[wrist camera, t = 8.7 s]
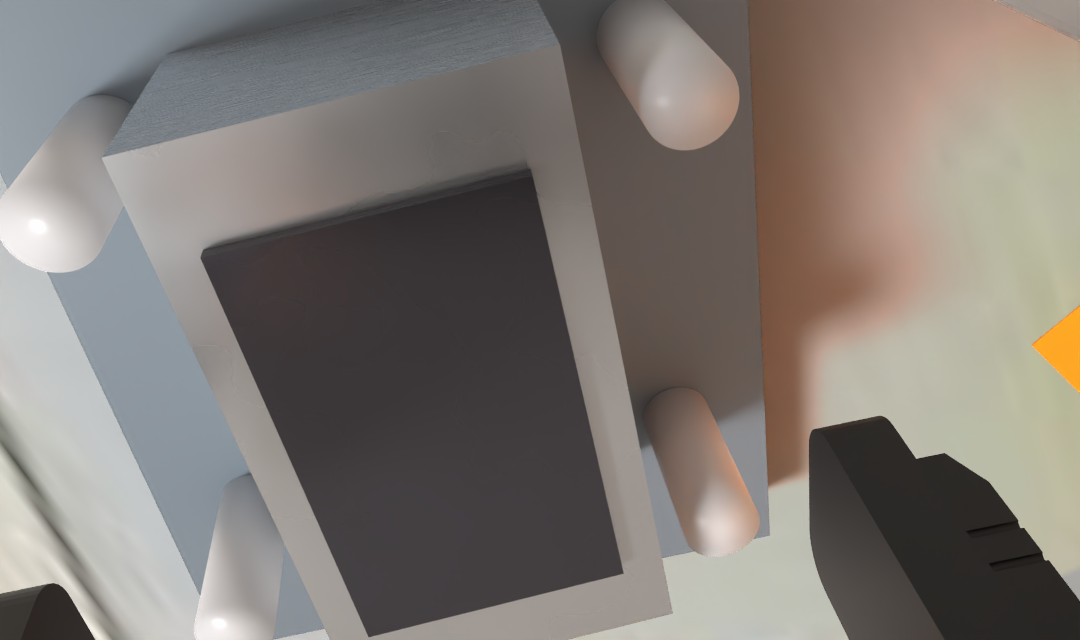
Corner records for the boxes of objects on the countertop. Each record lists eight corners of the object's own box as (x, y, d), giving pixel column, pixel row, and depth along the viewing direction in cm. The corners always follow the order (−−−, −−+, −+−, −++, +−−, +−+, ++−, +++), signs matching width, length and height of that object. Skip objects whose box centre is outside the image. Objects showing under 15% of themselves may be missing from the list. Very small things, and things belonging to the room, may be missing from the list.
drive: (166, 53, 14) (97, 165, 11) (518, -34, 14) (562, 48, 11) (360, 522, 19) (355, 703, 15) (622, 457, 19) (675, 623, 15)
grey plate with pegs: (-93, -118, 14) (-261, -54, 10) (710, -264, 14) (824, -253, 10) (233, 603, 21) (202, 787, 17) (751, 496, 21) (825, 654, 18)
